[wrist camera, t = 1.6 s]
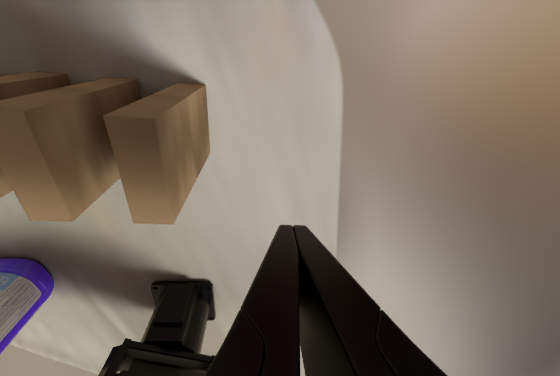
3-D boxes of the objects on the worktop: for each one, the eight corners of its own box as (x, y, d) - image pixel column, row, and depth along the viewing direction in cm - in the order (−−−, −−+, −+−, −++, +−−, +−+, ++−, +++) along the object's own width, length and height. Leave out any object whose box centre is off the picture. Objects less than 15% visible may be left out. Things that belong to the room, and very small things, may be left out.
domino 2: (151, 149, 19) (72, 221, 11) (127, 147, 19) (30, 220, 11) (137, 79, 16) (22, 110, 9) (109, 77, 16) (-34, 107, 8)
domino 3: (210, 152, 19) (173, 224, 12) (187, 151, 19) (133, 223, 11) (205, 84, 17) (154, 119, 9) (178, 82, 17) (103, 115, 9)
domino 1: (90, 145, 18) (-36, 218, 11) (64, 144, 18) (-81, 217, 11) (66, 73, 16) (-121, 101, 8) (36, 71, 16) (-183, 97, 8)
